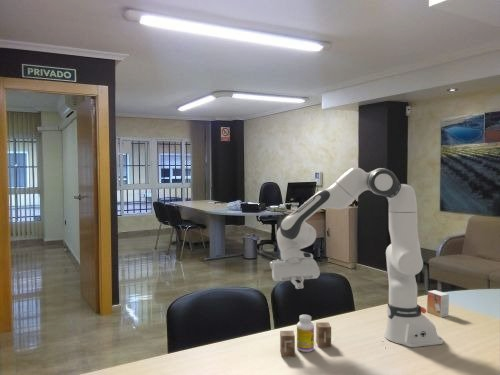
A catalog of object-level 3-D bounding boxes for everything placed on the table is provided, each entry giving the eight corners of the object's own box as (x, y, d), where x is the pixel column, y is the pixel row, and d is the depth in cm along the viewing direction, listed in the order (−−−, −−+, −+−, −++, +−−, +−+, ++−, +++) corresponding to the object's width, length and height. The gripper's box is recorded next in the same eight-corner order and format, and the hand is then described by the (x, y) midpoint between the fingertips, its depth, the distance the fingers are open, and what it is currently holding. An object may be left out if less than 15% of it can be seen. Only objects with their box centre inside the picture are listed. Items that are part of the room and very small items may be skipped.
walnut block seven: (293, 350, 157) (293, 330, 157) (294, 357, 152) (294, 336, 152) (280, 351, 157) (280, 330, 157) (281, 357, 152) (281, 336, 152)
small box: (426, 312, 199) (427, 291, 199) (434, 310, 201) (435, 289, 201) (440, 317, 192) (440, 295, 191) (448, 315, 194) (449, 294, 194)
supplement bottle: (313, 353, 155) (313, 320, 155) (296, 352, 156) (296, 319, 156) (314, 346, 162) (314, 314, 161) (297, 344, 163) (297, 313, 162)
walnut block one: (328, 341, 166) (328, 322, 165) (331, 347, 161) (331, 327, 160) (316, 341, 166) (316, 322, 165) (318, 347, 161) (318, 327, 160)
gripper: (270, 256, 170) (276, 285, 161) (316, 253, 175) (325, 282, 166) (267, 264, 175) (273, 293, 166) (312, 261, 179) (320, 290, 170)
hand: (299, 288), depth 166 cm, fingers closed
